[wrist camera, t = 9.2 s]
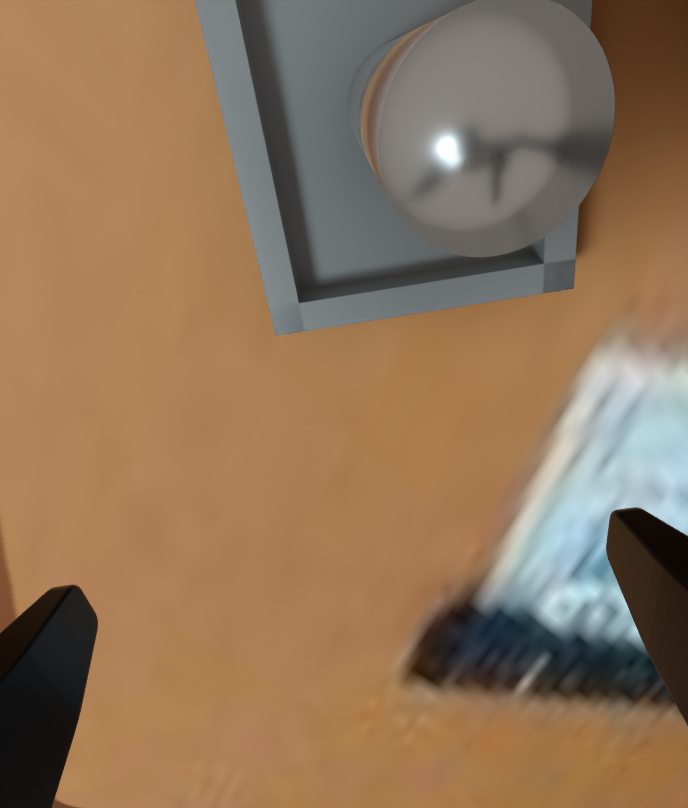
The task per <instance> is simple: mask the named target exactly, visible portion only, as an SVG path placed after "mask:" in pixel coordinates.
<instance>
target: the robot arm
mask: <svg viewBox="0 0 688 808" xmlns="http://www.w3.org/2000/svg"><path fill="white" fill-rule="evenodd" d="M606 551H607V556H608V560H609V562H610V565H611V567H612V569H613V572H614V574H615V577H616V579H617V581H618V584H619V586H620V589H621V591H622V593H623V596H624V598H625V601H626V603H627V605H628V608H629V610H630V613H631V615H632V617H633V620H634V622H635V625H636V627H637V629H638V632H639V634H640V636H641V639H642V641H643V643H644V645H645V648H646V650H647V652H648V654H649V656H650V658H651V659H652V661H653V663H654V665H655V667H656V669H657V671H658V672H659V674H660V676H661V678H662V680H663V682H664V683H665V685H666V687H667V689H668V691H669V693H670V694H671V696H672V698H673V700H674V702H675V703H676V705H677V707H678V709H679V711H680V713H681V714H682V716H683V718H684V720H685V722H686V724H687V725H688V536H687V535H685V534H684V533H682V532H680V531H678V530H677V529H675V528H673V527H672V526H670V525H668V524H667V523H665V522H663V521H662V520H660V519H658V518H657V517H655V516H653V515H652V514H650V513H648V512H647V511H645V510H643V509H641V508H636V507H634V508H627V509H619V510H615V511H613V512H612V513H611V515H610V520H609V528H608V536H607V543H606ZM97 628H98V620H97V616H96V613H95V611H94V610H93V608H92V606H91V605H90V603H89V601H88V600H87V598H86V596H85V595H84V593H83V591H82V590H81V589H80V587H78V586H76V585H66V586H59V587H54V588H51V589H50V590H48V591H47V592H46V593H45V594H44V595H42V596H41V597H40V598H39V599H38V600H37V601H36V602H35V603H33V604H32V605H31V606H30V607H29V608H28V609H27V610H26V611H24V612H23V613H22V614H21V615H20V616H19V617H18V618H17V619H16V620H14V621H13V622H12V623H11V624H10V625H9V626H8V627H7V628H6V629H4V630H3V631H2V632H1V633H0V808H52V805H53V802H54V799H55V796H56V792H57V789H58V786H59V783H60V779H61V776H62V773H63V770H64V766H65V763H66V760H67V757H68V753H69V750H70V747H71V744H72V740H73V737H74V734H75V730H76V727H77V723H78V720H79V716H80V711H81V707H82V703H83V698H84V693H85V688H86V683H87V678H88V673H89V668H90V663H91V659H92V654H93V649H94V644H95V639H96V634H97Z"/></svg>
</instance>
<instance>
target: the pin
mask: <svg viewBox="0 0 688 808" xmlns="http://www.w3.org/2000/svg"><path fill="white" fill-rule="evenodd" d="M347 110H348V118H349V123H350V126H351V129H352V132H353V134H354V136H355V138H356V140H357V142H358V144H359V145H360V147H361V149H362V151H363V153H364V154H365V156H366V158H367V160H368V162H369V163H370V165H371V167H372V169H373V171H374V172H375V174H376V176H377V178H378V180H379V181H380V183H381V185H382V187H383V189H384V190H385V192H386V194H387V196H388V198H389V199H390V201H391V203H392V205H393V207H394V208H395V210H396V211H397V213H398V214H399V216H400V218H401V219H402V220H403V221H404V222H405V224H406V225H407V226H408V227H409V228H410V229H411V230H412V231H413V232H414V233H415V234H416V235H418V236H419V237H420V238H421V239H423V240H424V241H426V242H427V243H429V244H430V245H432V246H434V247H436V248H438V249H441V250H443V251H445V252H449V253H452V254H455V255H460V256H467V257H490V256H498V255H502V254H507V253H511V252H514V251H516V250H519V249H522V248H524V247H526V246H528V245H530V244H532V243H534V242H536V241H538V240H540V239H541V238H543V237H544V236H546V235H547V234H549V233H550V232H552V231H553V230H554V229H555V228H557V227H558V226H559V225H560V224H561V223H563V222H564V221H565V220H566V219H567V218H568V217H569V216H570V215H571V214H572V213H573V212H574V210H575V209H576V208H577V207H578V206H579V204H580V203H581V202H582V201H583V199H584V198H585V196H586V195H587V193H588V192H589V190H590V189H591V187H592V186H593V184H594V182H595V180H596V178H597V176H598V174H599V172H600V170H601V168H602V166H603V163H604V160H605V158H606V155H607V153H608V149H609V145H610V141H611V137H612V132H613V125H614V118H615V95H614V84H613V80H612V75H611V71H610V67H609V64H608V61H607V59H606V56H605V53H604V51H603V49H602V47H601V46H600V44H599V42H598V40H597V38H596V37H595V35H594V34H593V33H592V32H591V30H590V29H589V28H588V26H587V25H586V24H585V23H584V22H583V21H582V20H581V19H580V18H579V17H577V16H576V15H575V14H574V13H573V12H571V11H570V10H568V9H567V8H565V7H564V6H562V5H560V4H558V3H556V2H554V1H551V0H475V1H473V2H471V3H469V4H466V5H464V6H462V7H460V8H458V9H456V10H454V11H452V12H449V13H447V14H445V15H443V16H441V17H439V18H437V19H435V20H433V21H431V22H429V23H427V24H425V25H423V26H421V27H419V28H417V29H415V30H413V31H411V32H409V33H407V34H405V35H403V36H401V37H399V38H397V39H395V40H393V41H391V42H388V43H386V44H384V45H382V46H380V47H379V48H377V49H376V50H374V51H373V52H372V53H371V54H369V55H368V56H367V57H366V58H365V60H364V61H363V62H362V63H361V65H360V66H359V67H358V69H357V71H356V73H355V75H354V77H353V79H352V82H351V85H350V89H349V93H348V102H347Z"/></svg>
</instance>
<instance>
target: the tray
mask: <svg viewBox="0 0 688 808" xmlns="http://www.w3.org/2000/svg"><path fill="white" fill-rule="evenodd" d="M473 1H475V0H195V3H196V7H197V11H198V15H199V19H200V23H201V28H202V32H203V36H204V40H205V44H206V48H207V52H208V57H209V61H210V65H211V69H212V73H213V77H214V81H215V86H216V90H217V94H218V98H219V102H220V106H221V111H222V115H223V119H224V123H225V127H226V131H227V135H228V140H229V144H230V148H231V152H232V156H233V160H234V164H235V169H236V173H237V177H238V181H239V185H240V189H241V194H242V198H243V202H244V206H245V210H246V214H247V218H248V223H249V227H250V231H251V235H252V239H253V243H254V247H255V252H256V256H257V260H258V264H259V268H260V272H261V276H262V281H263V285H264V289H265V293H266V297H267V301H268V306H269V310H270V314H271V318H272V322H273V326H274V330H275V335H276V336H278V335H284V334H291V333H297V332H303V331H309V330H316V329H322V328H328V327H335V326H341V325H347V324H353V323H360V322H366V321H372V320H379V319H385V318H391V317H398V316H404V315H410V314H416V313H423V312H429V311H435V310H442V309H448V308H454V307H461V306H467V305H473V304H479V303H486V302H492V301H498V300H505V299H511V298H517V297H524V296H530V295H536V294H542V293H549V292H555V291H561V290H568V289H574V275H575V259H576V244H577V228H578V213H579V206H578V207H577V208H576V209H575V210H574V212H573V213H572V214H571V215H570V216H569V217H568V218H567V219H566V220H565V221H564V222H563V223H561V224H560V225H559V226H558V227H557V228H555V229H554V230H553V231H552V232H550V233H549V234H547V235H546V236H544V237H543V238H541V239H540V240H538V241H536V242H534V243H532V244H530V245H528V246H526V247H524V248H522V249H519V250H516V251H514V252H511V253H507V254H502V255H498V256H490V257H467V256H460V255H455V254H452V253H449V252H445V251H443V250H441V249H438V248H436V247H434V246H432V245H430V244H429V243H427V242H426V241H424V240H423V239H421V238H420V237H419V236H418V235H416V234H415V233H414V232H413V231H412V230H411V229H410V228H409V227H408V226H407V225H406V224H405V222H404V221H403V220H402V219H401V218H400V216H399V214H398V213H397V211H396V210H395V208H394V207H393V205H392V203H391V201H390V199H389V198H388V196H387V194H386V192H385V190H384V189H383V187H382V185H381V183H380V181H379V180H378V178H377V176H376V174H375V172H374V171H373V169H372V167H371V165H370V163H369V162H368V160H367V158H366V156H365V154H364V153H363V151H362V149H361V147H360V145H359V144H358V142H357V140H356V138H355V136H354V134H353V132H352V129H351V126H350V123H349V118H348V110H347V102H348V93H349V89H350V85H351V82H352V79H353V77H354V75H355V73H356V71H357V69H358V67H359V66H360V65H361V63H362V62H363V61H364V60H365V58H366V57H367V56H368V55H369V54H371V53H372V52H373V51H374V50H376V49H377V48H379V47H380V46H382V45H384V44H386V43H388V42H391V41H393V40H395V39H397V38H399V37H401V36H403V35H405V34H407V33H409V32H411V31H413V30H415V29H417V28H419V27H421V26H423V25H425V24H427V23H429V22H431V21H433V20H435V19H437V18H439V17H441V16H443V15H445V14H447V13H449V12H452V11H454V10H456V9H458V8H460V7H462V6H464V5H466V4H469V3H471V2H473ZM551 1H554V2H556V3H558V4H560V5H562V6H564V7H565V8H567V9H568V10H570V11H571V12H573V13H574V14H575V15H576V16H577V17H579V18H580V19H581V20H582V21H583V22H584V23H585V24H586V25H587V26H588V28H589V29H590V27H591V12H592V0H551Z"/></svg>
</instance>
